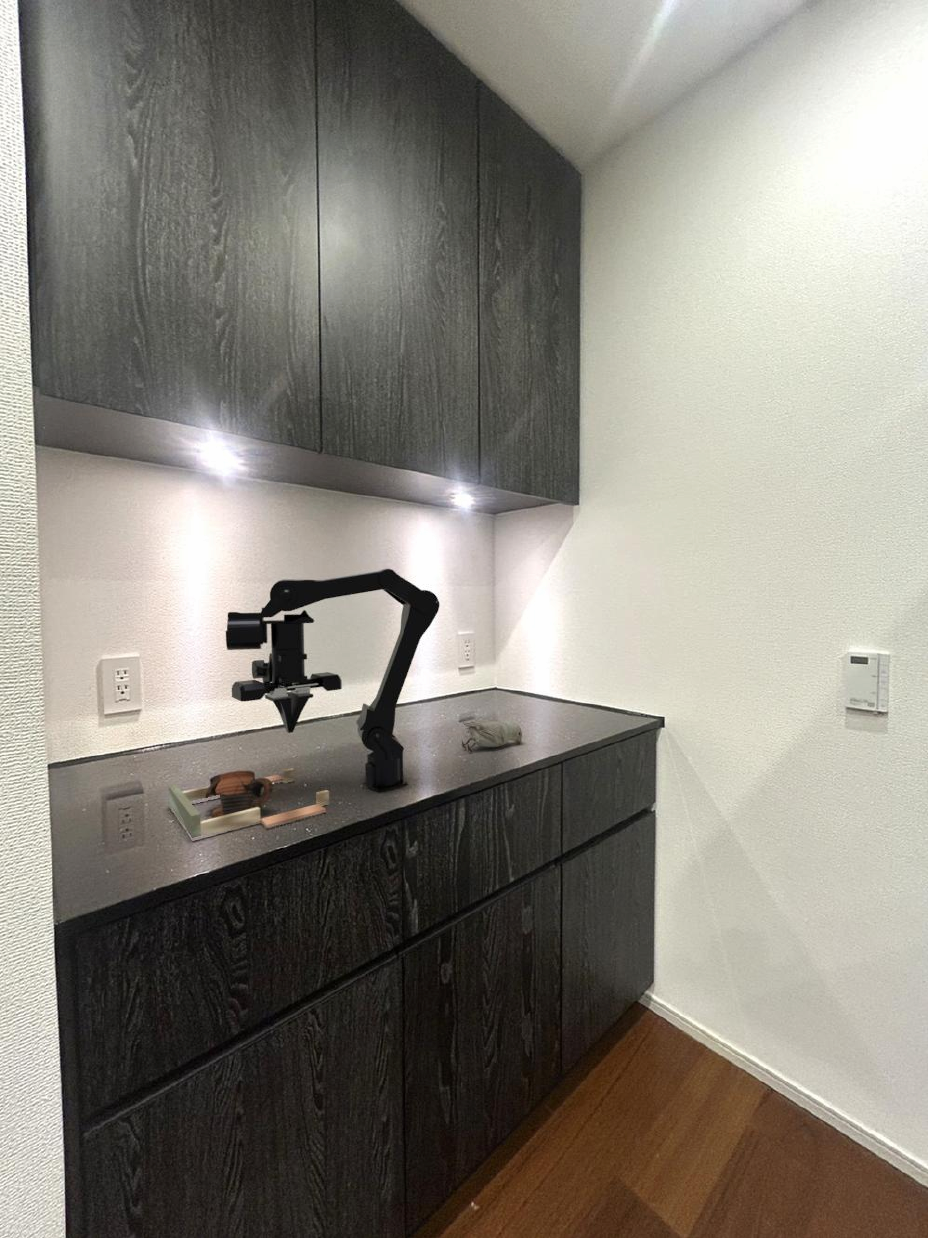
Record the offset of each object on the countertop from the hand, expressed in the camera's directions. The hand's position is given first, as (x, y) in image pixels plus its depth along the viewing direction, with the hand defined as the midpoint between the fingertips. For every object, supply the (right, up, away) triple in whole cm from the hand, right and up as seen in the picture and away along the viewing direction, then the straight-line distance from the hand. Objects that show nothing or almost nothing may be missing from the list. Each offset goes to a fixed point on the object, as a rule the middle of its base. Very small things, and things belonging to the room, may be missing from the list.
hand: (289, 732), depth 101 cm
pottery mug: (-6, -13, -7) cm, 16 cm away
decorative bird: (+39, -11, +31) cm, 51 cm away
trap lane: (-5, -12, -4) cm, 14 cm away
